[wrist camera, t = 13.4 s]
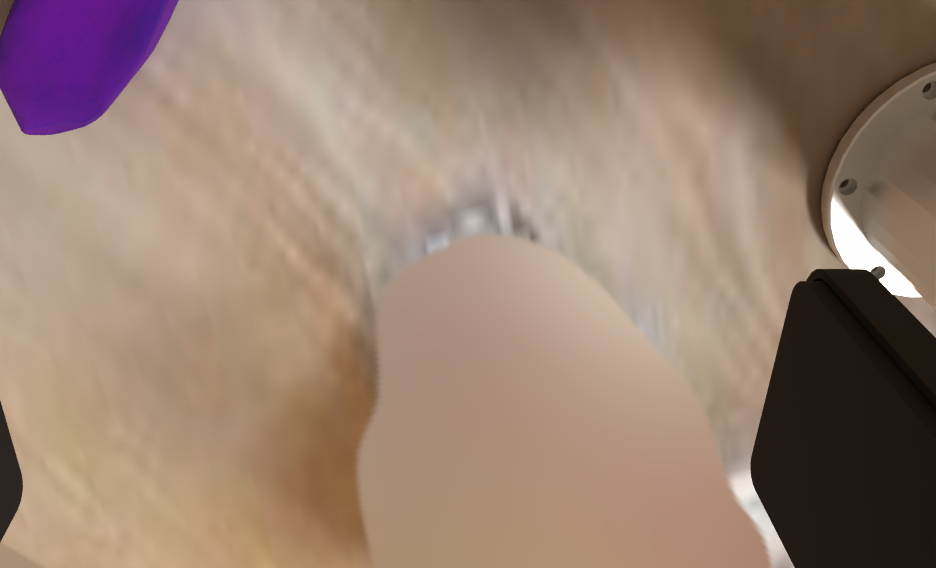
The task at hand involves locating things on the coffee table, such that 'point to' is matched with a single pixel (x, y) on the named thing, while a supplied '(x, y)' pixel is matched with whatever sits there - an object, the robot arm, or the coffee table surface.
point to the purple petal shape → (74, 57)
